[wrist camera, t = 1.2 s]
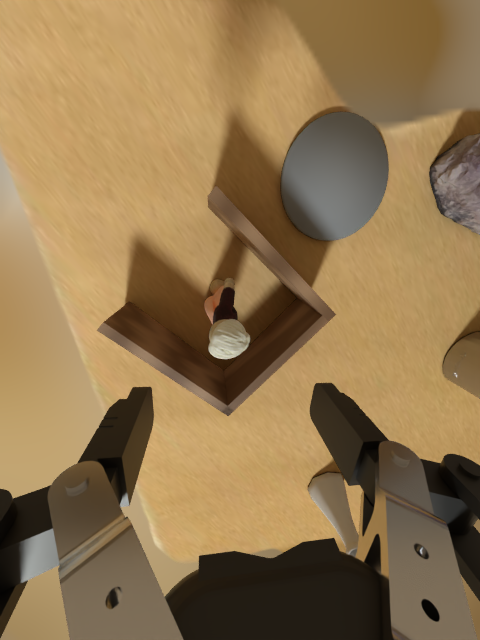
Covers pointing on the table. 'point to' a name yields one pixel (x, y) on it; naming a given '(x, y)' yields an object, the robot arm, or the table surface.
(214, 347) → the grandmother figurine
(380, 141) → the pad
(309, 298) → the u-shaped walnut enclosure
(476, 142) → the geode
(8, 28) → the table surface
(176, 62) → the table surface
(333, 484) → the flask
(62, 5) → the table surface
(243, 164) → the table surface
